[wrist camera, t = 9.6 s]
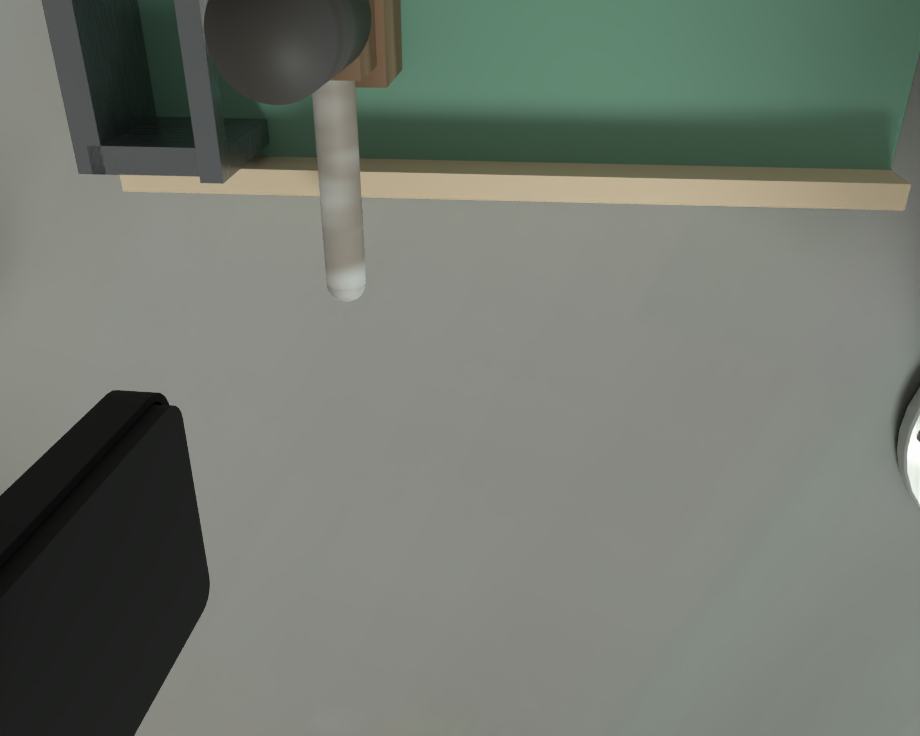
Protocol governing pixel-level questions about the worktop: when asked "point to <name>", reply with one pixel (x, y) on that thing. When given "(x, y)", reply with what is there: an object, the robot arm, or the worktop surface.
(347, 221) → the kicker
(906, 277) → the worktop surface
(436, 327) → the worktop surface
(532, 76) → the pitch
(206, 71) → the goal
